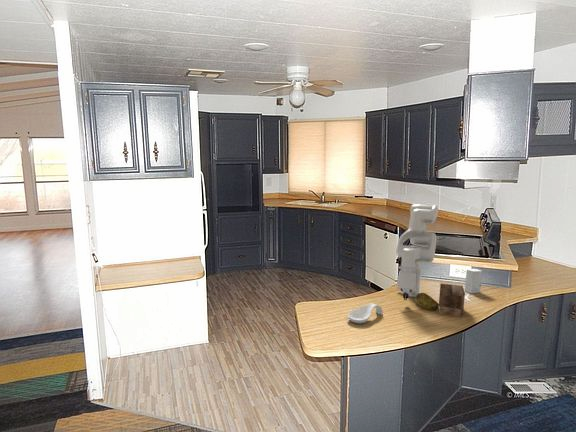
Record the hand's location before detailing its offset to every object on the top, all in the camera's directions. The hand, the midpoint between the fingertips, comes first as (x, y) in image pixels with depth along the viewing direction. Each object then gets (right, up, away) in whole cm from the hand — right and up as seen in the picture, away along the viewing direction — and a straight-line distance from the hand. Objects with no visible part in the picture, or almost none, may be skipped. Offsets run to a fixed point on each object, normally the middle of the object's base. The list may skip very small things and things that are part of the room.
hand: (405, 299), depth 248 cm
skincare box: (+52, -1, +28) cm, 59 cm away
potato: (+12, -5, -2) cm, 13 cm away
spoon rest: (-27, -7, -20) cm, 35 cm away
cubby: (+24, -5, -6) cm, 25 cm away
